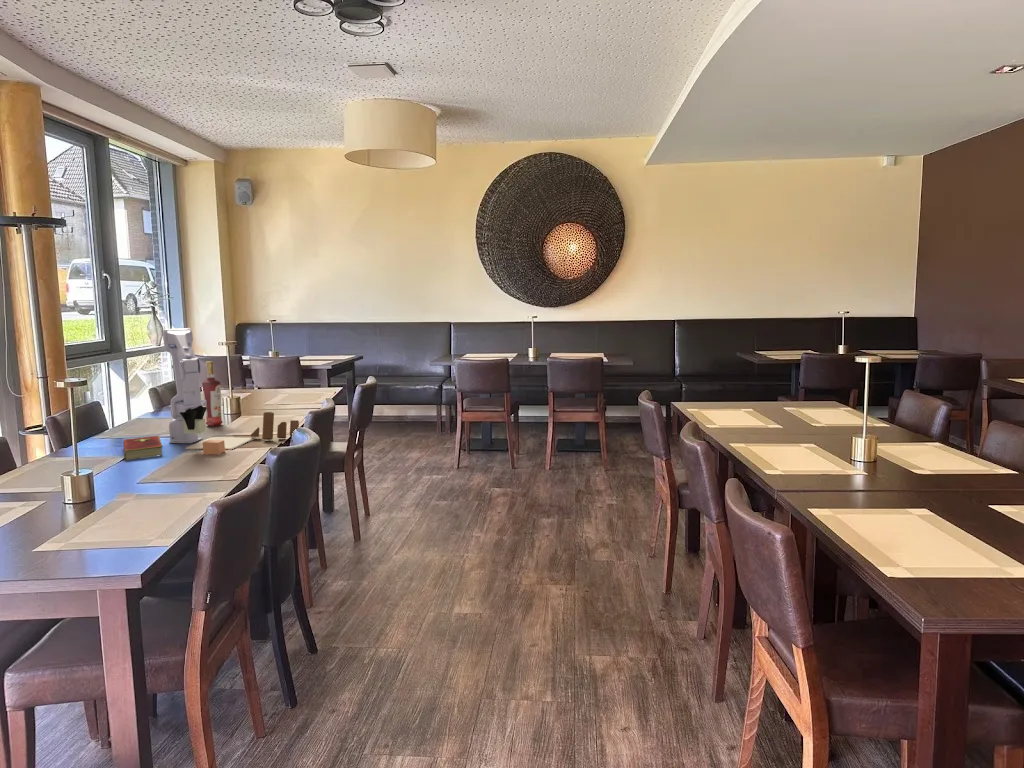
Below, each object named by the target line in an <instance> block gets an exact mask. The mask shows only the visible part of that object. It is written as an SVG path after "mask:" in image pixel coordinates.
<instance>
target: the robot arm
mask: <svg viewBox="0 0 1024 768" xmlns="http://www.w3.org/2000/svg"><path fill="white" fill-rule="evenodd" d="M193 338H194V337H193V330H192V329H191V328H190V327H185V328H183V327H182V328H164V329H163V331H162V340H163V347H164V349H165V352H168V353H169V354H170V356H171V358H172V364H173V370H174V371H173V373H174V379H175V387H176V395H174V396H173V397H172V398H171V399H170V404H169V405H170V414H171V418H172V419H171V420H170V422H169V424H168V428H169V429H168V430H169V432H168V433H169V442H168V443H169V444H193V442H194V443H197V442H198V441H199V442H200V441H202V440H203V437H199V435H198V434H199V433H184V424H183V421H185V423H186V425H187V428H188V430H194V428H195V419H204V416H205V414H206V409H207V408H206V407H205V406H206V405H207V402H206V400H204V399H202V395H201V394H202V393H201V381H200V374H201V361H200V358H199V357H197V356H196V355H195V352H194V349H192V344H193Z"/></svg>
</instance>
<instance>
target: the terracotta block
mask: <svg viewBox="0 0 1024 768" xmlns="http://www.w3.org/2000/svg"><path fill="white" fill-rule="evenodd" d="M222 452H224V453H226V450H225V444H224V440H207V441H205V442H203V450H202V453H203V455H208V454H220V453H222ZM222 454H223V453H222ZM220 455H221V454H220Z"/></svg>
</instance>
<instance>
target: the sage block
mask: <svg viewBox="0 0 1024 768" xmlns="http://www.w3.org/2000/svg"><path fill="white" fill-rule="evenodd" d="M183 424H184V433H198V434H202V433H205V432H206V430H207V429H206V419H205V418H203V419H195V428H194V430H188V428H187V425H186V423H185V421H183Z"/></svg>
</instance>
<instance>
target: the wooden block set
mask: <svg viewBox="0 0 1024 768" xmlns="http://www.w3.org/2000/svg"><path fill="white" fill-rule="evenodd" d="M274 417H275V413H274V412H272V411H266V412H263V417H262V432H261V433H262V437H261V438H262V440H264V441H265V440H266V441H269V440H270V441H271V440H273V439H274V437H273V436H274V422H275V420H274ZM289 423H290V427H289V437H291V436H292V433H293V431H294V430H295V429H297V428H298V427H299V428H300V421H299V420H296V419H295V420H293V419H292V420H290V421H289ZM287 425H288V424H287V422H286V421H282V422H280V423H279V424H277V434H276V435H277V436H276V438H277V439H287ZM249 437H250V438H258V437H260V427H257V428H256V429H255V430H254V431H253V432H251V434H250V435H249Z"/></svg>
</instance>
